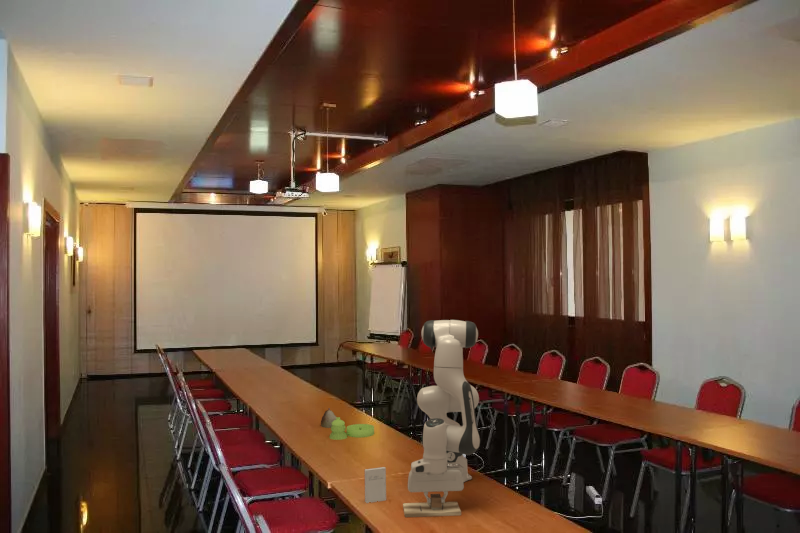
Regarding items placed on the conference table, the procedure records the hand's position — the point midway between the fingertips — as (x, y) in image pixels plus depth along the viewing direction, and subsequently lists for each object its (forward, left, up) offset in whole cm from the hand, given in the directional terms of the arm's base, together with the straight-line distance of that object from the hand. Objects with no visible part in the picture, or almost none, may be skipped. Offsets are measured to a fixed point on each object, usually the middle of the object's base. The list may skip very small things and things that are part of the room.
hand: (435, 503), depth 239 cm
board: (0, -2, -3) cm, 3 cm away
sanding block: (0, 0, -1) cm, 1 cm away
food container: (-111, -32, -3) cm, 115 cm away
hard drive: (-12, -22, -3) cm, 25 cm away
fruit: (-133, -45, -3) cm, 140 cm away
